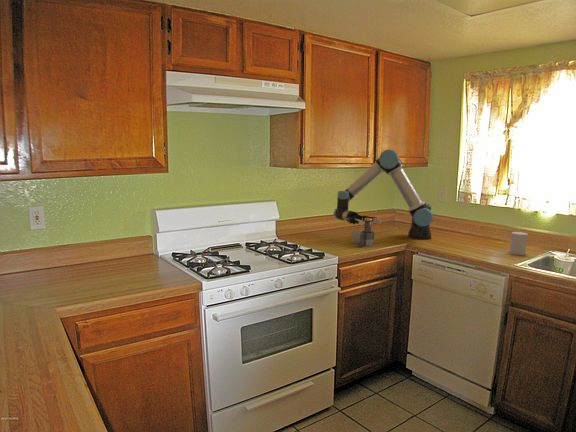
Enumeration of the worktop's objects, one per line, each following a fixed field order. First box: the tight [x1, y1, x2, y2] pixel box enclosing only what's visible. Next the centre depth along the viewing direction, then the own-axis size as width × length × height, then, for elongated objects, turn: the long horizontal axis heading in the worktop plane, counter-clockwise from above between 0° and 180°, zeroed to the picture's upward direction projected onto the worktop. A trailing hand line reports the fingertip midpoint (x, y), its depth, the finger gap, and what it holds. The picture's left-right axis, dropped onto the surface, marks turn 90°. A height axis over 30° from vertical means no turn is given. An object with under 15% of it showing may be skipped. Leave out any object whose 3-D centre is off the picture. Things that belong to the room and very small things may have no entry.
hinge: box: [351, 229, 375, 249], centre depth 257 cm, size 14×14×8 cm
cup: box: [508, 231, 529, 256], centre depth 244 cm, size 8×8×12 cm
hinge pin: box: [363, 218, 372, 233], centre depth 257 cm, size 5×5×16 cm
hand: (371, 222), depth 253 cm, fingers open, 13 cm apart
